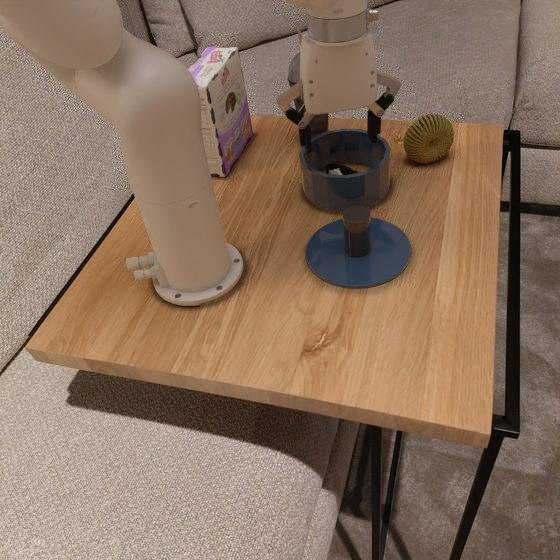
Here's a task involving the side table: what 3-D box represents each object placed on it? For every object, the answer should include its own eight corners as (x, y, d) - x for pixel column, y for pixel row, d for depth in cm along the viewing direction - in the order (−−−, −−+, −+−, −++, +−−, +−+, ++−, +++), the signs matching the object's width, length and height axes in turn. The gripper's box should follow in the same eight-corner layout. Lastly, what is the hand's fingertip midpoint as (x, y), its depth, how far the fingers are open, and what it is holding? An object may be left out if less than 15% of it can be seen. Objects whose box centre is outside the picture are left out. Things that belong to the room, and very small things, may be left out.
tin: (311, 220, 87) (308, 184, 83) (297, 171, 97) (293, 137, 92) (400, 204, 87) (401, 167, 83) (376, 157, 97) (376, 122, 93)
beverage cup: (332, 149, 100) (325, 31, 86) (290, 149, 102) (277, 33, 88) (338, 127, 105) (331, 12, 91) (298, 127, 107) (286, 15, 93)
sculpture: (407, 172, 93) (409, 127, 87) (399, 159, 96) (400, 115, 90) (455, 162, 93) (460, 116, 88) (445, 149, 96) (449, 104, 91)
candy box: (224, 133, 109) (207, 44, 97) (254, 135, 107) (239, 45, 95) (194, 175, 99) (171, 83, 88) (226, 178, 98) (206, 85, 86)
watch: (318, 180, 93) (316, 161, 91) (341, 169, 95) (340, 149, 92) (348, 202, 88) (347, 182, 86) (372, 189, 90) (372, 169, 87)
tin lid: (316, 300, 75) (312, 259, 70) (298, 232, 85) (293, 192, 80) (425, 280, 75) (428, 238, 70) (393, 214, 86) (394, 174, 81)
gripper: (395, 5, 78) (390, 123, 89) (266, 23, 77) (278, 140, 88) (412, 24, 72) (405, 147, 84) (273, 44, 71) (285, 166, 83)
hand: (340, 143), depth 86 cm, fingers open, 9 cm apart
